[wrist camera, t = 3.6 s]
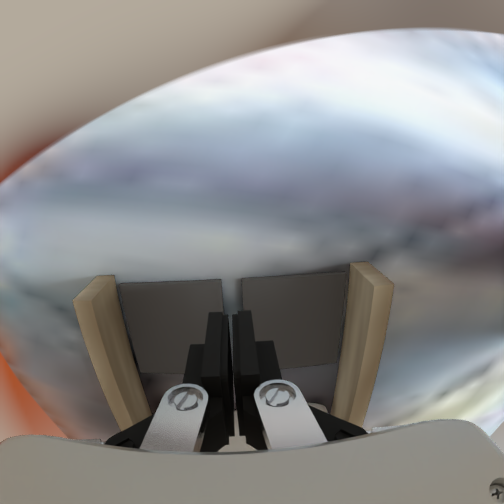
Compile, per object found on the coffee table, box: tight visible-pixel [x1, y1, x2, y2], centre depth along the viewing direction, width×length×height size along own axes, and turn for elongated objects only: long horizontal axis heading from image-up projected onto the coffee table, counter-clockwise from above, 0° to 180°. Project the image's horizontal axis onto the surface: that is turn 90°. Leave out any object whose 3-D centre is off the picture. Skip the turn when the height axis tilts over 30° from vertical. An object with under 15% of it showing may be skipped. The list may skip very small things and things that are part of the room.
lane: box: [72, 262, 394, 431], centre depth 17 cm, size 14×30×4 cm, turn 2°
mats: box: [119, 272, 346, 374], centre depth 16 cm, size 11×6×1 cm, turn 92°
